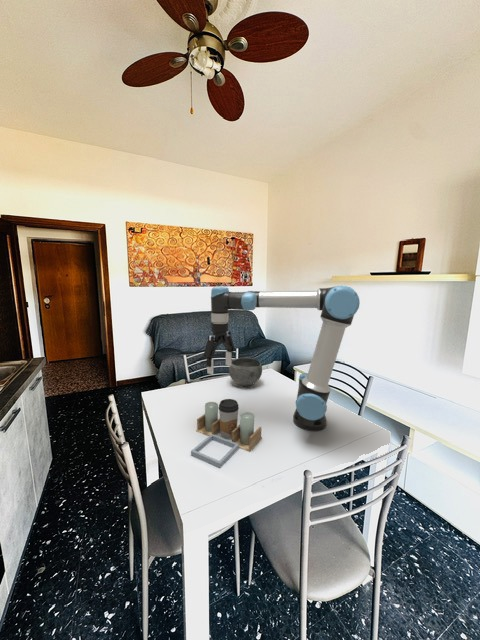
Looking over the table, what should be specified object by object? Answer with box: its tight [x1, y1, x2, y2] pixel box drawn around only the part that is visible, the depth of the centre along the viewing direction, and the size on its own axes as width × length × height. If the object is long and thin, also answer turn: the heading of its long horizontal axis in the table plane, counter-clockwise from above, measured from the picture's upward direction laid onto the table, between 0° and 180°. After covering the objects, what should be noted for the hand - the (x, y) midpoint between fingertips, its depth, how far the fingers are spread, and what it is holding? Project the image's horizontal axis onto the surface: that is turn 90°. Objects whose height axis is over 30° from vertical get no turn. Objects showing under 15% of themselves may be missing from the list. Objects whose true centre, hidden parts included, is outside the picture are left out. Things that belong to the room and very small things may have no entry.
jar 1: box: [204, 401, 219, 432], centre depth 115 cm, size 6×6×11 cm
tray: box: [190, 434, 240, 469], centre depth 100 cm, size 13×13×2 cm
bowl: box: [228, 357, 263, 387], centre depth 167 cm, size 21×21×15 cm
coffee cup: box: [218, 398, 240, 440], centre depth 110 cm, size 8×8×15 cm
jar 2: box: [239, 411, 255, 445], centre depth 106 cm, size 6×6×11 cm
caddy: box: [195, 413, 263, 453], centre depth 111 cm, size 26×11×6 cm, turn 60°
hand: (219, 369), depth 118 cm, fingers open, 13 cm apart
